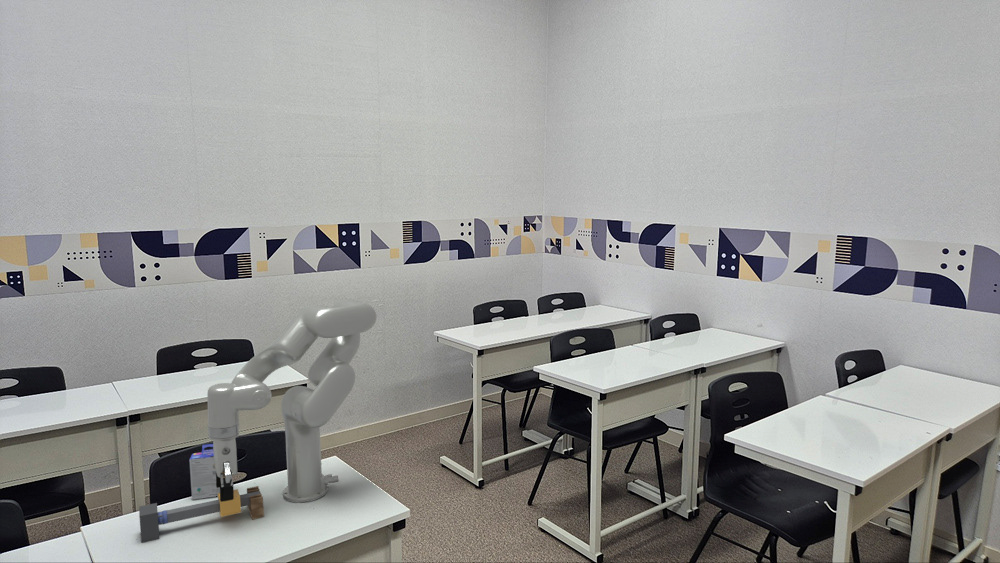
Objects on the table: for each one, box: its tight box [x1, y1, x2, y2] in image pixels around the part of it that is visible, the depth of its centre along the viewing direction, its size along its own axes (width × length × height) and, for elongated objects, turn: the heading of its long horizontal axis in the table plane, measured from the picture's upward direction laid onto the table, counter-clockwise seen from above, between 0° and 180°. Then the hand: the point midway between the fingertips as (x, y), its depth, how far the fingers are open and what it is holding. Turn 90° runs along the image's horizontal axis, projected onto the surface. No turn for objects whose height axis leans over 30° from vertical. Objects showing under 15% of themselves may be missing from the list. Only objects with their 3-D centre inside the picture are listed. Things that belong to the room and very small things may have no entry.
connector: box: [138, 502, 163, 544], centre depth 166 cm, size 5×6×7 cm
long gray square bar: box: [158, 491, 262, 526], centre depth 172 cm, size 27×3×3 cm, turn 119°
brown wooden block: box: [246, 485, 265, 520], centre depth 178 cm, size 3×8×6 cm, turn 29°
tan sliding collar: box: [217, 489, 242, 518], centre depth 175 cm, size 5×5×4 cm
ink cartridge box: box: [188, 443, 220, 501], centre depth 188 cm, size 10×6×14 cm, turn 108°
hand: (224, 493), depth 174 cm, fingers open, 9 cm apart
